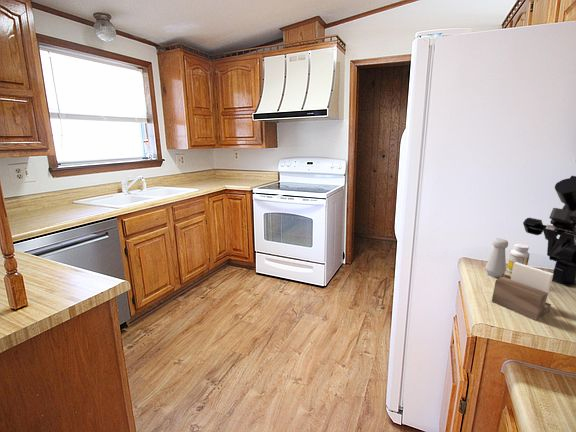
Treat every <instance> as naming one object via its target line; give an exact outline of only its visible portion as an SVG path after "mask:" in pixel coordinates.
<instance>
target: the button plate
mask: <svg viewBox="0 0 576 432" xmlns="http://www.w3.org/2000/svg"><path fill="white" fill-rule="evenodd" d="M552 278H553V272H550V271H547V270H544V269H539V268H538V267H537V268H536V267H534V266H530V265H524V264H521V263H518V262H515V263H514V264H513V269H512V272H511V275H510V279H511V280H514V281H516V282H519V283H522V284H525V285H528V286H530V287H533V288H536V289H539V290H542V291H544V292H547V293H548V295H547V299H546V301H548V297H549V293H550V289H551V286H552V281H553V280H552Z"/></svg>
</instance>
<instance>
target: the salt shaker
mask: <svg viewBox="0 0 576 432" xmlns="http://www.w3.org/2000/svg"><path fill="white" fill-rule="evenodd" d="M492 245H493V248H492V251H491V253H490V256H489V258H488V261H487V263H486V265H485V271H486V273H487V276H490V277H492V278H497V279H499V278H501V277H503V275H505V273H506V270H507V268H506V267H507V266H506V265H507V263H506V249H507V248H508V246H509V242H508V240H506V239H505V238H494V239H493V241H492Z"/></svg>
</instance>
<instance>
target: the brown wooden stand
mask: <svg viewBox="0 0 576 432" xmlns="http://www.w3.org/2000/svg"><path fill="white" fill-rule="evenodd" d="M547 295H548V296H549V294H548V293H547V292H544V291H542V290H539V289H536V288H533V287H530V286H528V285H525V284H522V283H519V282H516V281H514V280H511V278H508V277H505V276H501V277H500V278H497V279H495V281H494V287H493V293H492V298H491V302H492V303H493V304H496V305H498V306H501V307H503V308H506V309H507V310H510V311H513V312H514V313H517V314H520V315H522V316H523V317H526V318H527V319H528V318H529V319H531V320H533V321H537V320H539V319H540V318H541V317H543V316H544V315H546V314H547V313H548V312H549V311H550V309H551V305H552V304H550V303H548V302H547V300H548V298H547ZM546 299H547V300H546Z"/></svg>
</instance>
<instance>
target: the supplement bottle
mask: <svg viewBox="0 0 576 432" xmlns="http://www.w3.org/2000/svg"><path fill="white" fill-rule="evenodd" d="M529 259H530V253H529V245H527V244H524V243H515V244H514V246H513V248H512V249H511V251H510V253H509V258H508V262H507V263H508V264H507V266H506V267H507V268H506V270H507V271H508V272H510V273H512V269H513V264H514V263H515V262H518V263H521V264H524V265H527V266H529V265H528V264H529V261H530V260H529Z"/></svg>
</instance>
